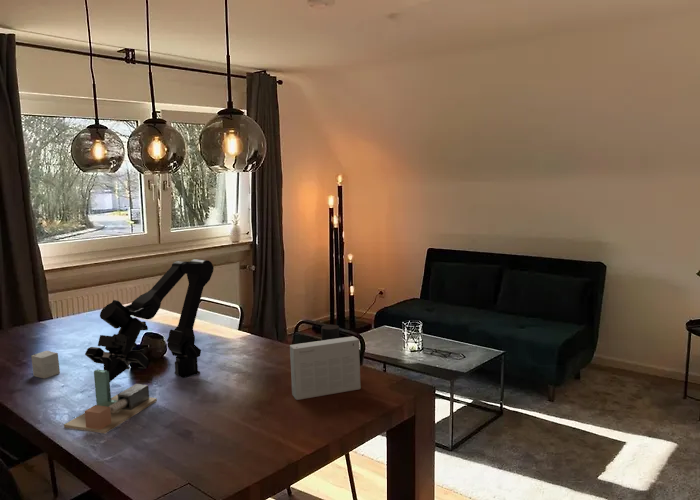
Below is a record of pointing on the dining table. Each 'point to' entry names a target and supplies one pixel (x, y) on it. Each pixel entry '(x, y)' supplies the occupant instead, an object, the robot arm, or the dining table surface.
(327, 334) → the deodorant
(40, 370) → the skincare box
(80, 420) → the birch board
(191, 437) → the dining table surface
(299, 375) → the skincare box
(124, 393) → the sleeve
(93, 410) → the orange block
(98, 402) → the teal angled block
